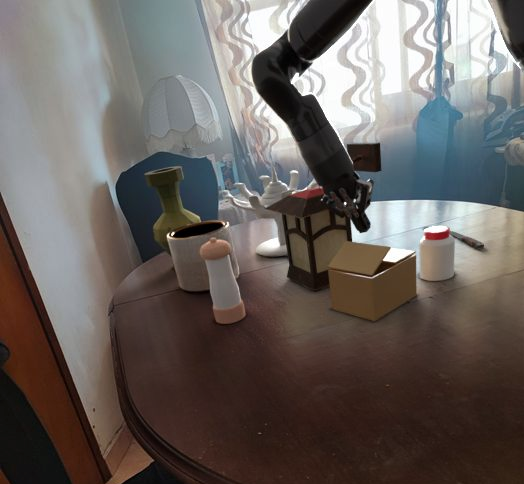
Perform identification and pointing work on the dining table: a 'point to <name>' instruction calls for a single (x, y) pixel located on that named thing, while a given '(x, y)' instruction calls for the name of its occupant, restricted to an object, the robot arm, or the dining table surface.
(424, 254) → the pill bottle
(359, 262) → the flap
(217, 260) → the pepper shaker
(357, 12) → the robot arm
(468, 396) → the dining table surface
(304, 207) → the lantern
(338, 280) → the carton
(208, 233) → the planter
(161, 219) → the vase
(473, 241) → the knife
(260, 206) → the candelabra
